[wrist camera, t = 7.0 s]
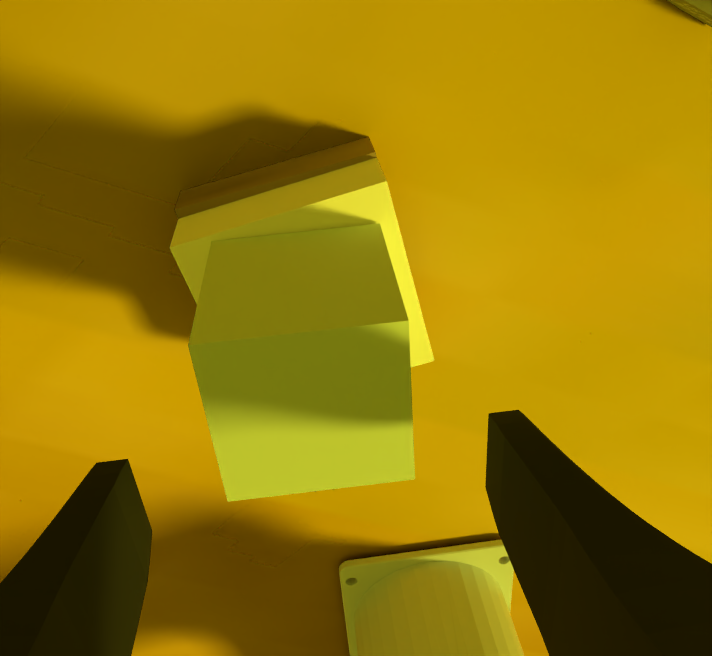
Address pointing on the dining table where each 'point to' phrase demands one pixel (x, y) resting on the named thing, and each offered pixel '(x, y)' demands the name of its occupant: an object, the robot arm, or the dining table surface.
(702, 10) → the grenade
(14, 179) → the dining table surface
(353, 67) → the dining table surface
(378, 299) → the sage block
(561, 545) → the robot arm
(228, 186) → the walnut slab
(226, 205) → the cream slab
